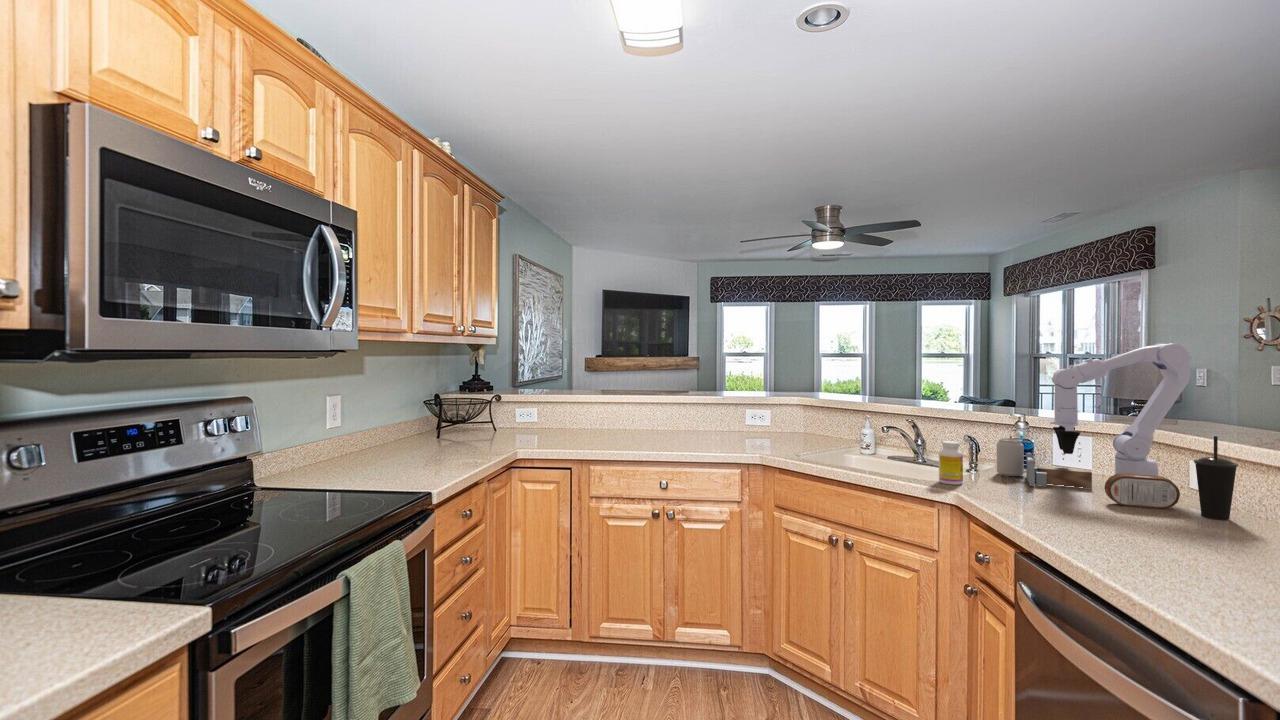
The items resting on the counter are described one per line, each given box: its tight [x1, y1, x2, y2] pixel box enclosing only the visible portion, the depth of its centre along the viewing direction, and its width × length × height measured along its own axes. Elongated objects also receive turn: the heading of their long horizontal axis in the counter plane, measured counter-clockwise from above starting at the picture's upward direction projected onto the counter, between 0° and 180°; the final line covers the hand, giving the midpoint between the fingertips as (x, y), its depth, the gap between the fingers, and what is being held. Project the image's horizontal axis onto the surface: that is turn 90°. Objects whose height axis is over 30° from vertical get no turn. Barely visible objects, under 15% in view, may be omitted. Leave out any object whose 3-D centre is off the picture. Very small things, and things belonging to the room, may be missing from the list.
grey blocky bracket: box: [1025, 452, 1048, 488], centre depth 176 cm, size 5×14×8 cm, turn 149°
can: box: [996, 437, 1025, 477], centre depth 187 cm, size 8×8×12 cm
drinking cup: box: [1193, 435, 1239, 521], centre depth 139 cm, size 8×8×20 cm
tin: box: [1104, 473, 1181, 510], centre depth 149 cm, size 15×3×8 cm, turn 65°
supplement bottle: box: [938, 440, 964, 486], centre depth 177 cm, size 7×7×13 cm
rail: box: [1036, 465, 1093, 489], centre depth 173 cm, size 13×4×5 cm, turn 59°
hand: (1066, 451), depth 175 cm, fingers open, 7 cm apart
